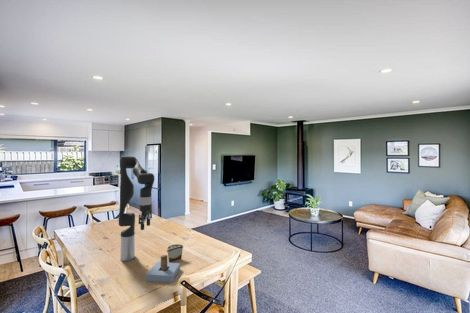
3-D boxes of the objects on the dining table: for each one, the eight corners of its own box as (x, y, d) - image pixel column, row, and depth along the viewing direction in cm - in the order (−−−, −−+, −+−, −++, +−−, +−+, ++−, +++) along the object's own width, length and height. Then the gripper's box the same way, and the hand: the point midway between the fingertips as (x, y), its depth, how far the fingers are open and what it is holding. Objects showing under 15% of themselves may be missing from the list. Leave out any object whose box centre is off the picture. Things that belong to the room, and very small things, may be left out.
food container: (179, 255, 176) (179, 242, 175) (183, 258, 171) (183, 245, 171) (163, 260, 167) (163, 246, 167) (167, 263, 163) (167, 249, 163)
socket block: (156, 267, 157) (157, 261, 157) (180, 269, 156) (180, 263, 156) (146, 280, 141) (146, 274, 141) (171, 282, 140) (171, 275, 140)
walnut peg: (162, 272, 151) (162, 254, 150) (168, 273, 150) (168, 254, 150) (159, 276, 147) (159, 257, 146) (165, 276, 146) (166, 257, 146)
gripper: (145, 200, 161) (144, 224, 161) (134, 205, 147) (134, 231, 147) (155, 201, 160) (155, 224, 161) (146, 206, 146) (145, 231, 147)
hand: (145, 227), depth 154 cm, fingers open, 8 cm apart
